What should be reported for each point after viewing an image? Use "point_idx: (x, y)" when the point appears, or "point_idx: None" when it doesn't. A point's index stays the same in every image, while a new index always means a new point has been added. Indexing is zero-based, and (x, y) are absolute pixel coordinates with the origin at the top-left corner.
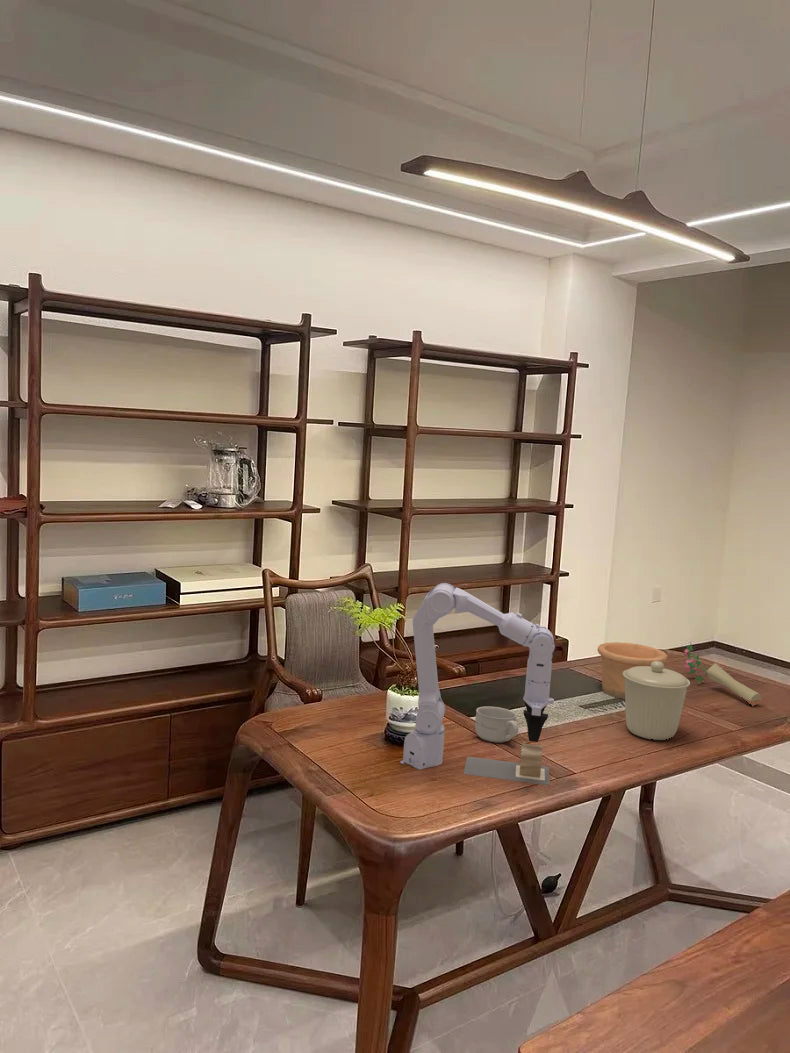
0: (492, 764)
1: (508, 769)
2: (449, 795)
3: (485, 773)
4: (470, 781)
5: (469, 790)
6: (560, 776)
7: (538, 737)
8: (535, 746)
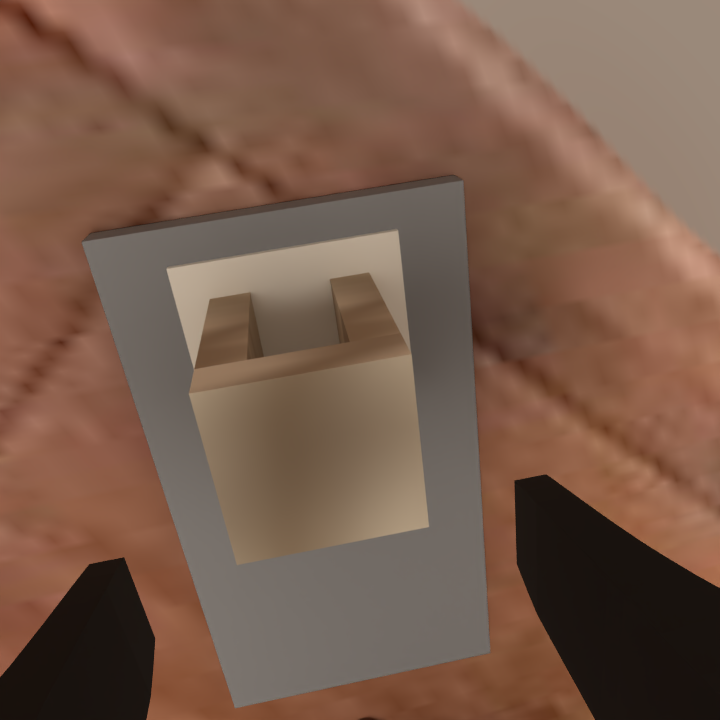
0: (280, 579)
1: None
2: None
3: (438, 574)
4: (510, 597)
5: None
6: (148, 120)
7: (584, 509)
8: (249, 446)
